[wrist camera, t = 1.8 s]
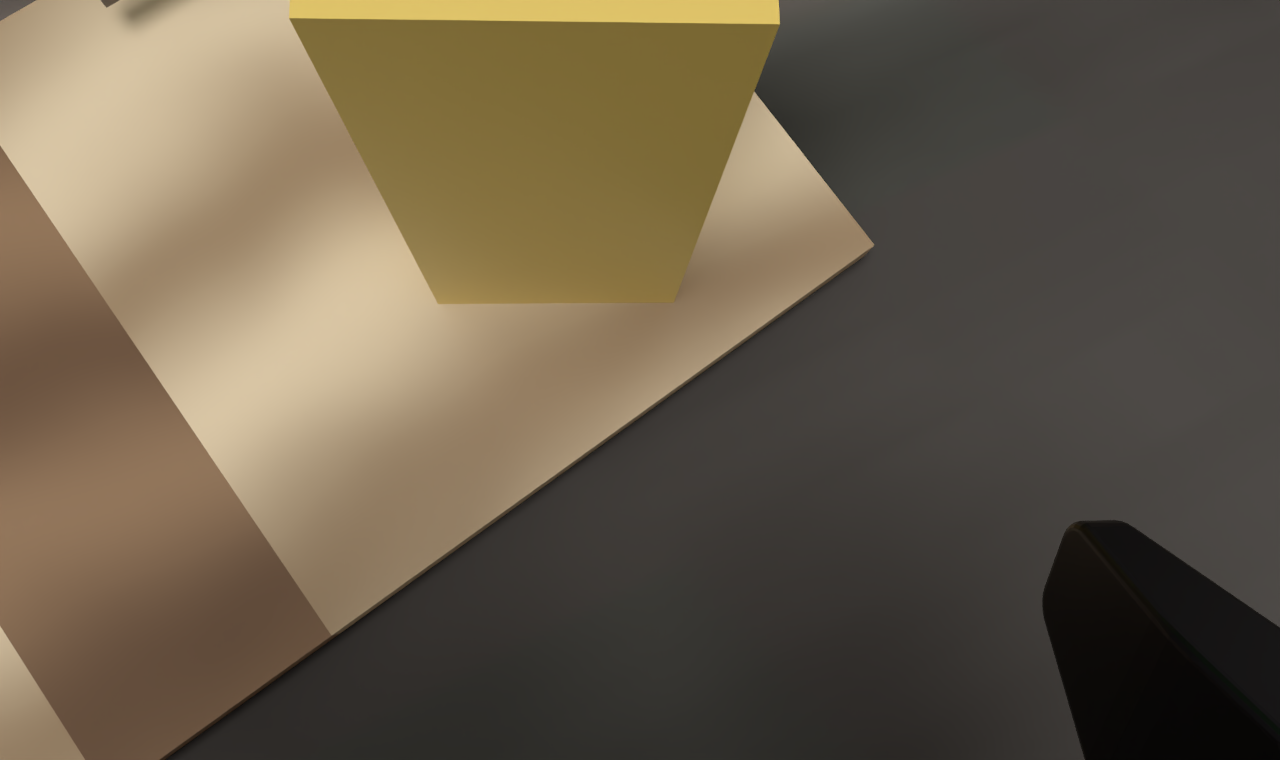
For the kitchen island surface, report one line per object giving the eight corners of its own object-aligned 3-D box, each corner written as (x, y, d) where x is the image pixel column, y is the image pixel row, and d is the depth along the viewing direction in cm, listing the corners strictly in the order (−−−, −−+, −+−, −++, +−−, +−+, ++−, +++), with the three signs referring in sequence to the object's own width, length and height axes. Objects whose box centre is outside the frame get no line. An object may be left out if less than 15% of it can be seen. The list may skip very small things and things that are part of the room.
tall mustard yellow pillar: (674, 302, 22) (779, 23, 11) (437, 303, 22) (289, 18, 10) (667, 78, 23) (758, -397, 12) (441, 76, 22) (307, -415, 11)
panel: (864, 255, 23) (874, 245, 22) (35, 852, 20) (13, 864, 19) (484, -230, 25) (481, -257, 24) (-340, 248, 22) (-375, 236, 21)
